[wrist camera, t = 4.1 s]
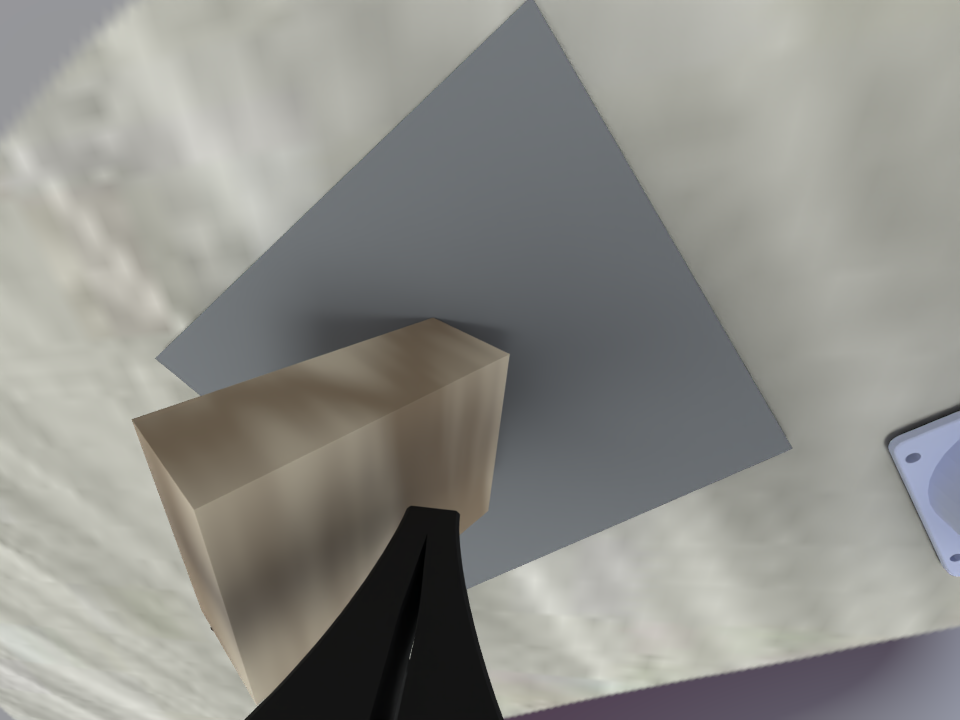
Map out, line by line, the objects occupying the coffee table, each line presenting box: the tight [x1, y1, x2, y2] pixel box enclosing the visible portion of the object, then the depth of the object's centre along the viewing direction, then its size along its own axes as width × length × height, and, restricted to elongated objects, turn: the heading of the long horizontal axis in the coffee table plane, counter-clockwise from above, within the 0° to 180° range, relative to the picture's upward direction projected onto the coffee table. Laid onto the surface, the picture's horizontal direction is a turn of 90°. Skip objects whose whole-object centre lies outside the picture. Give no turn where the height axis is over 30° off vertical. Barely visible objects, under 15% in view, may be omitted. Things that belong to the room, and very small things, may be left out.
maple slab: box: [132, 318, 510, 705], centre depth 13 cm, size 4×7×9 cm
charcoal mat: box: [155, 0, 793, 589], centre depth 18 cm, size 18×18×1 cm
